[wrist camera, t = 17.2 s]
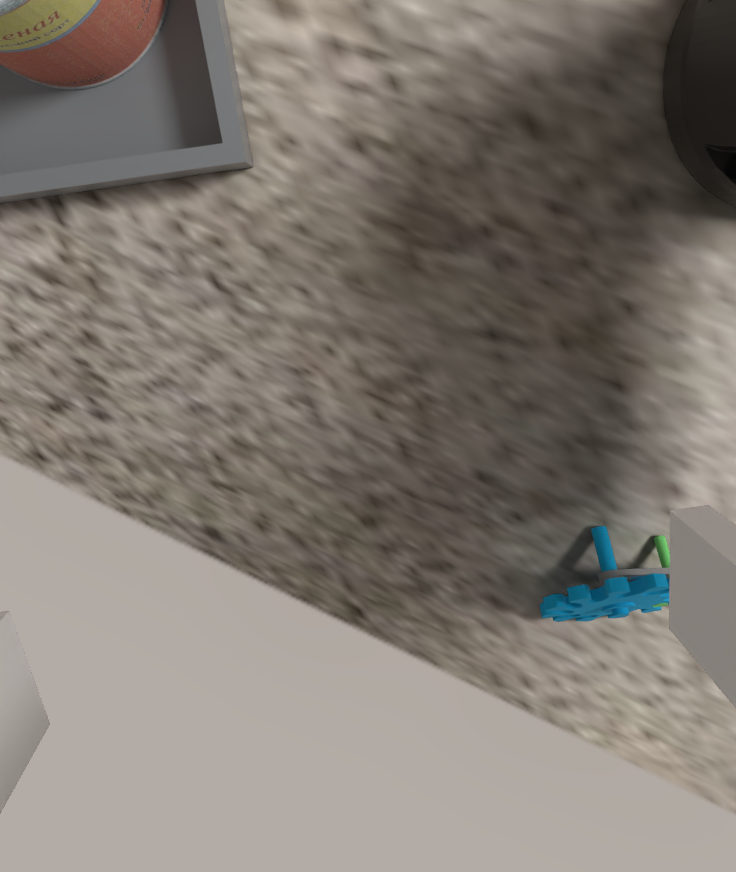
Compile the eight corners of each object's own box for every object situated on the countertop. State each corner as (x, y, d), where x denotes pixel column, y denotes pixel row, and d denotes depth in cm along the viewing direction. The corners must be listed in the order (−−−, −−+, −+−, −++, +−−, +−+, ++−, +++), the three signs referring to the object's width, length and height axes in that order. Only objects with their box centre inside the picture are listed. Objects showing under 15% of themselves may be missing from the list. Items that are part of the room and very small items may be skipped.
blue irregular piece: (519, 633, 46) (588, 601, 37) (504, 551, 48) (565, 503, 39) (658, 625, 48) (754, 593, 39) (636, 547, 50) (722, 501, 42)
